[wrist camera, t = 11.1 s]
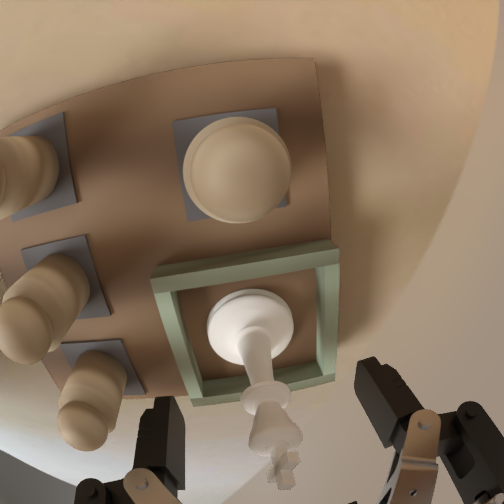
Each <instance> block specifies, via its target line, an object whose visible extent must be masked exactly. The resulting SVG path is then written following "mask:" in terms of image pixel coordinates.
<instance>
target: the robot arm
mask: <svg viewBox="0 0 504 504" xmlns="http://www.w3.org/2000/svg"><path fill="white" fill-rule="evenodd" d="M354 389H355V393H356V395H357V397H358V399H359V401H360V403H361V405H362V406H363V408H364V410H365V412H366V414H367V416H368V417H369V419H370V421H371V423H372V425H373V427H374V429H375V431H376V432H377V434H378V436H379V438H380V440H381V442H382V443H383V446H384V447H385V448H387V447H390V446H392V445H393V446H394V448H395V452H394V456H393V459H392V463H391V466H390V469H389V472H388V476H387V479H386V482H385V485H384V487H383V490H382V492H381V494H380V496H379V498H378V501H377V503H376V504H431V501H432V497H433V493H434V489H435V484H436V479H437V474H438V464H436V457H438V456H440V458H441V460H442V462H443V463H444V465H445V467H446V469H447V471H448V473H449V475H450V476H451V479H452V481H453V483H454V484H455V486H456V488H457V490H458V492H459V494H460V496H461V498H462V500H463V503H464V504H504V437H503V436H502V434H501V433H500V431H499V430H498V428H497V427H496V425H495V424H494V423H493V421H492V420H491V418H490V417H489V416H488V414H487V413H486V412H485V410H484V409H483V407H482V406H481V405H480V404H478V403H476V402H473V401H468V402H464V403H463V404H461V405H460V406H459V408H458V410H457V411H454V412H449V413H444V414H437V413H436V412H434V411H432V410H428V409H424V408H423V407H422V405H421V404H420V403H419V401H418V399H417V398H416V397H415V395H414V394H413V393H412V391H411V390H410V389H409V387H408V386H407V385H406V383H405V381H404V380H403V379H402V378H401V376H400V375H399V373H398V372H397V371H396V369H394V368H392V367H391V366H389V365H388V364H384V365H381V364H380V363H379V361H378V360H377V359H376V357H370V358H366V359H363V360H360V361H358V362H357V367H356V375H355V382H354ZM177 490H185V422H184V418H183V415H182V413H181V411H180V409H179V407H178V404H177V402H176V400H175V398H174V396H159V397H156V398H155V401H154V408H153V409H146V410H145V412H144V413H143V415H142V416H141V418H140V423H139V430H138V438H137V443H136V450H135V457H134V465H133V468H132V470H131V471H130V472H128V473H127V474H126V476H125V477H124V478H123V479H121V480H117V481H112V482H108V483H101V482H100V481H99V480H97V479H93V478H88V479H85V480H83V481H81V482H80V483H79V484H78V486H77V488H76V495H75V501H74V504H182V503H181V502H180V501H179V500H178V499H177ZM349 504H357V501H355V502H352V503H349Z"/></svg>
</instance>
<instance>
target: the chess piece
mask: <svg viewBox="0 0 504 504" xmlns="http://www.w3.org/2000/svg"><path fill="white" fill-rule="evenodd" d="M206 329H207V335H208V339H209V342H210V345H211V346H212V348H213V350H214V351H215V352H216V353H217V354H218V355H219V356H220V357H222V358H223V359H225V360H227V361H229V362H232V363H235V364H239V365H244V366H245V369H246V371H247V374H248V377H249V380H250V384H251V386H249V387H248V388H247V389H245V390H244V392H243V393H242V395H241V399H240V401H241V404H242V406H243V408H244V409H245V410H246V411H247V412H248V413H250V414H252V415H255V417H254V422H253V427H252V431H251V433H250V437H249V448H250V449H251V451H252V452H254V453H255V454H258V455H261V456H266V457H271V458H272V462H273V467H272V468H271V469H270V470H269V471H268V472H267V473H266V474H267V478H268V482H269V483H271V482H273V483H276V482H277V485H278V489H279V490H289V489H291V488H292V487H294V486H295V485H296V482H295V479H294V475H293V471H292V470H293V469H294V468H295V467H296V466H297V465H298V464H299V463H300V458H299V454H298V452H291V451H292V450H294V449H295V448H297V447H298V446H299V444H300V443H301V441H302V439H303V434H302V432H301V430H300V429H299V427H298V426H297V425H296V424H295V423H294V422H293V421H292V420H291V419H290V417H289V416H288V414H287V413H286V411H285V410H284V408H285V407H286V406H287V405H288V404H289V402H290V396H291V392H290V389H289V387H288V386H287V385H286V384H284V383H282V382H279V381H274V377H273V369H272V359H273V358H275V357H276V356H278V355H279V354H280V353H281V352H282V351H283V350H284V349H285V348H286V347H287V345H288V344H289V342H290V340H291V338H292V335H293V330H294V324H293V318H292V313H291V310H290V308H289V306H288V305H287V303H286V302H285V301H284V300H283V299H282V298H281V297H279V296H278V295H276V294H274V293H272V292H270V291H267V290H263V289H243V290H239V291H236V292H233V293H231V294H229V295H227V296H225V297H224V298H222V299H221V300H220V301H219V302H217V303H216V305H215V306H214V307H213V308H212V310H211V312H210V314H209V316H208V319H207V325H206Z"/></svg>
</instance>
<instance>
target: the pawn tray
mask: <svg viewBox="0 0 504 504" xmlns="http://www.w3.org/2000/svg"><path fill="white" fill-rule="evenodd" d="M0 270H1V272H2V275H3V278H4V281H5V283H6V286H7V289H8V290H7V291H6V292H5V294H4V296H3V300H2V304H1V306H0V349H1V351H2V352H3V353H4V354H5V355H6V356H7V357H8V358H9V359H11V360H12V361H14V362H17V363H20V364H32V363H35V362H38V361H39V360H42V362H43V363H44V365H45V367H46V368H47V370H48V372H49V374H50V375H51V377H52V378H53V380H54V382H55V383H56V385H57V386H58V388H59V389H60V391H61V395H60V397H59V399H58V408H59V410H60V411H59V413H58V417H57V426H58V430H59V433H60V435H61V436H62V438H63V439H64V440H65V441H66V442H67V443H68V444H69V445H70V446H72V447H73V448H75V449H78V450H81V451H93V450H96V449H98V448H100V447H101V446H102V445H103V444H104V443H105V441H106V439H107V436H108V433H110V432H112V431H113V430H114V428H115V425H116V421H117V417H118V413H119V409H120V405H121V401H122V399H143V398H156V397H159V396H174V397H175V396H186V395H189V397H190V400H191V402H192V404H193V407H195V406H205V405H214V404H221V403H229V402H236V401H240V399H241V395H242V393H243V392H244V390H245V389H247V388H248V387H249V386H251V384H250V380H249V377H248V374H247V371H246V369H245V366H244V365H239V364H235V363H232V362H229V361H227V360H225V359H223V358H222V357H220V356H219V355H218V354H217V353H216V352H215V351H214V350H213V348H212V346H211V345H210V342H209V339H208V335H207V329H206V325H207V319H208V316H209V314H210V312H211V310H212V308H213V307H214V306H215V305H216V303H217V302H219V301H220V300H221V299H222V298H224V297H225V296H227V295H229V294H231V293H233V292H236V291H239V290H243V289H263V290H267V291H270V292H272V293H274V294H276V295H278V296H279V297H281V298H282V299H283V300H284V301H285V302H286V303H287V305H288V306H289V308H290V310H291V313H292V318H293V324H294V330H293V335H292V338H291V340H290V342H289V344H288V345H287V347H286V348H285V349H284V350H283V351H282V352H281V353H280V354H279V355H278V356H276V357H275V358H273V359H272V369H273V377H274V381H279V382H282V383H284V384H286V385H287V386H288V387H289V389H290V392H291V391H296V390H300V389H304V388H309V387H313V386H317V385H321V384H325V383H329V382H332V381H335V372H336V358H337V342H338V321H339V280H340V254H339V247H337V246H336V245H335V244H334V243H333V242H332V241H331V225H330V203H329V187H328V172H327V160H326V149H325V138H324V128H323V119H322V111H321V103H320V95H319V87H318V80H317V73H316V67H315V61H314V58H274V59H255V60H242V61H231V62H222V63H214V64H206V65H199V66H193V67H187V68H181V69H176V70H171V71H166V72H161V73H156V74H152V75H147V76H143V77H139V78H135V79H131V80H127V81H124V82H120V83H117V84H113V85H110V86H107V87H103V88H100V89H97V90H94V91H91V92H88V93H85V94H82V95H79V96H77V97H74V98H71V99H68V100H66V101H63V102H61V103H58V104H56V105H53V106H51V107H49V108H46V109H44V110H42V111H39V112H37V113H35V114H33V115H30V116H28V117H26V118H24V119H22V120H20V121H18V122H16V123H14V124H12V125H10V126H8V127H6V128H4V129H2V130H1V131H0Z"/></svg>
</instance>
